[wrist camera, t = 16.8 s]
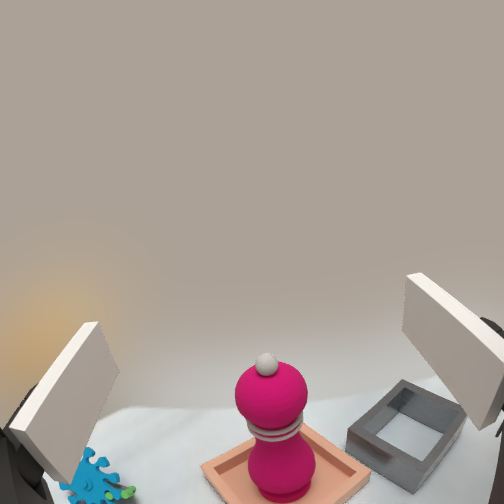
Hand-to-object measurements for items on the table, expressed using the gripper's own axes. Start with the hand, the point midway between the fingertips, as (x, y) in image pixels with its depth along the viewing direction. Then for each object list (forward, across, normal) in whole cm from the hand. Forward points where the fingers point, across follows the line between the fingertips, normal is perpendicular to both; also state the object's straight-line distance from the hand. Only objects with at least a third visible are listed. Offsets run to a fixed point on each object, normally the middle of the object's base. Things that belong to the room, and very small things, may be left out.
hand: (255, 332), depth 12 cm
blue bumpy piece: (+6, -23, -28) cm, 37 cm away
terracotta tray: (+9, 0, -28) cm, 30 cm away
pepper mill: (+8, 0, -28) cm, 29 cm away
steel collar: (+10, +16, -29) cm, 34 cm away
